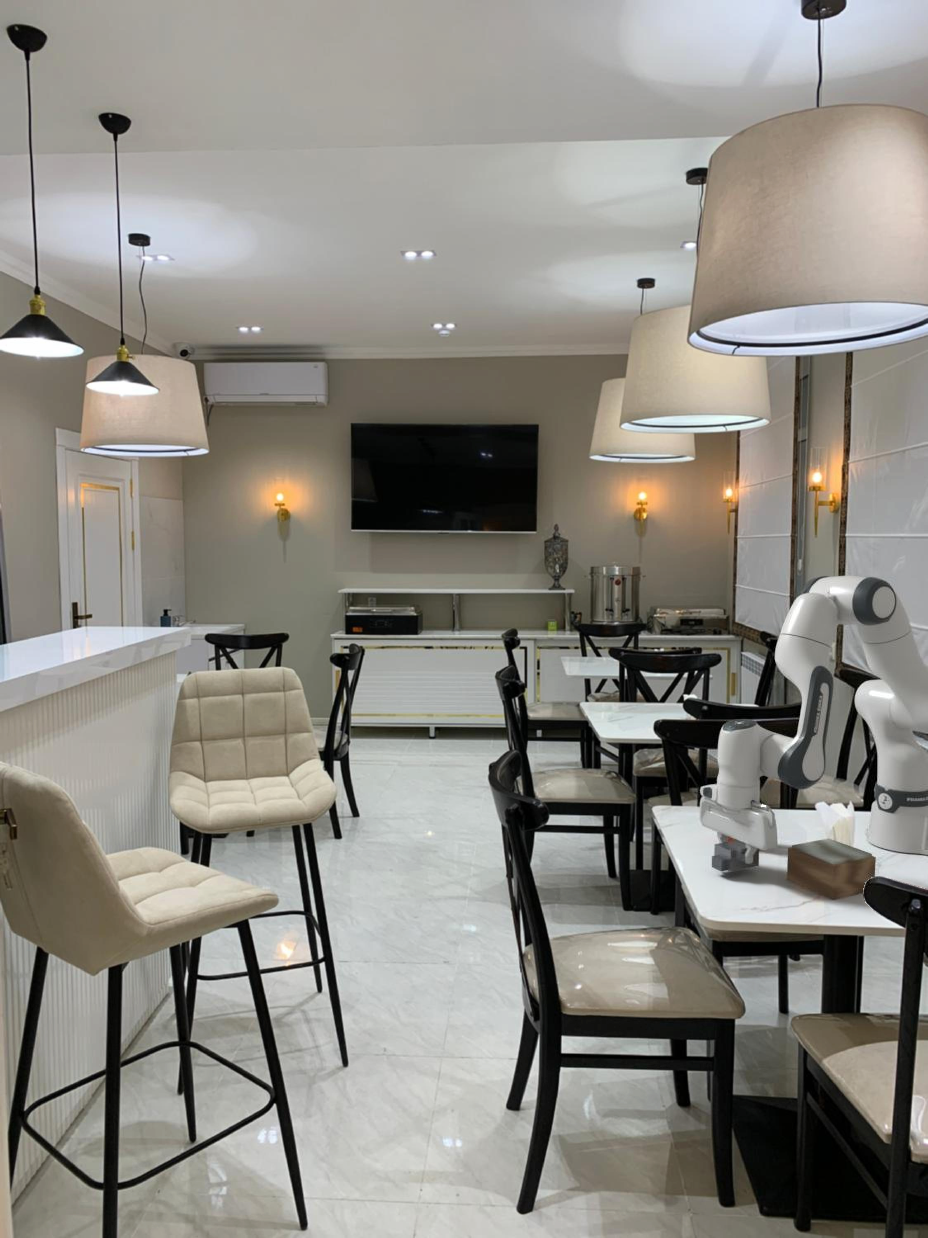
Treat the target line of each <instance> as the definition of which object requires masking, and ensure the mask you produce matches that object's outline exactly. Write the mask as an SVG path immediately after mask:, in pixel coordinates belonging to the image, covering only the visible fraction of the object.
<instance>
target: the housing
mask: <svg viewBox="0 0 928 1238" xmlns="http://www.w3.org/2000/svg"><path fill="white" fill-rule="evenodd" d="M747 849H748V848H746V843H744V842H741V841H739V840H734V841H729V842H724V843H720V842H719V843H715V844H714V851H713V852H714V853H713V854H714V855H712V856H711V868H713V869H715V870H717V871H719V872H726V871H728V872H730V873H732V872H737V871H741V870H746V869H750V868H751V869H752V868H756V867H760V849H757V850H756V852H755V853H754V855H753V862H752V863H750V864H747V863H745V862H743V861H742V854H745V853H746V851H747Z"/></svg>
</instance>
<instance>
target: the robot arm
mask: <svg viewBox="0 0 928 1238" xmlns="http://www.w3.org/2000/svg"><path fill="white" fill-rule="evenodd" d="M839 625H842V626H844V625H845V626H847V625H854V626H855V625H856V627H857V628H856V629H857V632H858V637H859V640H860V642H861V646H862V650H863V653H864V657H865V659H866V663H867V666H868V668H869V670H870V671H871V672H872V673H873V674H874V675H875V676H877V677H878V678H880V679H870V680H866V681H864V682H863V683H861V684H860V685H859V687H857V690H856V692H855V695H854V705H855V709H856V712H857V713H858V714H859V715H860V717H862V719H863V720H864V721H865V722H866V724H867V725H868V727H869V730H870V732H871V735H872V737H873V739H874V743H875V747H876V753H877V754H876V755H877V775H876V777H877V781H876V782H875V785H874V789H873V791H874V794H873V795H874V799H875V800H874V801H873V802H872V804H871V810H870V817H869V823H868V828H866V829H865V835H866V836H867V837H866V840H867V842H868V843H870V844H872V845H874V846H876V847H878V848H881V849H886V850H889V851H893V852H898V853H906V854H917V855H919V854H921V855H924V856H925V855H926V856H928V752H927V751H926V750H925V748H924V747H922V746H921V745H920V744H919V742H918V741H917V739H916V737H915V736H914V732H916V733H923V734H926V735H927V734H928V667H927V665H926V663H925V662H924V661H923V659H922V657H921V654H920V652H919V649H918V646H917V643H916V639H915V637H914V633H913V630H912V626H911V623H910V620H909V617H908V614H907V612H906V609H905V607H904V605H903V603H902V601H901V599H900V597H899V596H898V594H897V593H896V592H895V590H894V587H892V585H891V584H890V583H889V582H887V580H884V579H881V578H878V577H873V576H869V577H868V576H867V577H865V576H860V575H859V576H858V575H851V574H850V575H838V576H837V575H836V576H828V575H823V576H817V577H814V578H811V579H810V580H808V581H807V582H806V584H804V586H803V587H802V590H801V591H800V595H799V596H797V597H796V599H794V601H793V603H792V604H791V607H790V608H789V611H788V613H787V614H786V616H785V620H784V622H783V624H782V627H781V629H780V630H781V631H780V633H779V636H778V638H777V642H776V646H775V651H774V660H775V664H776V667H777V668H778V670H779V671H780V673H782V675H783V676H784V677H785V678H786V679H788V680H789V681H790V682H791V683H792V684H793V685H795V686H796V688H797V689H798V690H799V692H800V695H801V700H802V701H801V708H800V713H799V714H800V715H799V721H798V726H797V732H796V735H795V736H794V737H789V736H787V735H783V734H780V733H776V732H773V731H770V730H768V729H766V728H763V727H762V726H761V725H759V724H758V723H757V721H755V720H753V719H748V718H747V719H746V718H741V719H740V718H739V719H738V718H737V719H733V720H729V721H726V723H724V724H723V725H722V727H721V729H720V731H719V735H718V741H717V742H718V743H717V765H718V775H717V778H716V783H714V784H707V785H703V786H700V790H699V791H700V795H701V798H700V801H699V821H700V823H701V825H702V827H704V828H708V829H709V830H712V831H714V832H716V835H717V836H716V837H717V839H718V842H719V843H724V842H728V838H727V837H728V836H729V837H731V838H734V839H736V840H739V841H741V842H744V843H746V848H748V849H747V851H746V853H745V854H742V861H743V862H745V863H747V864H750V863H752V862H753V855H754V853H755V852H756V850H757V849H759V850H761V851H771V850H774V849H775V848H776V847H777V846H778V827H777V822H776V820H777V819H776V815H775V812H774V811H773V809H771V806H769V805H768V804H765V803H764V804H763V803H762V802H760V795H761V794H760V792H761V791H760V790H761V789H760V788H761V780H760V778H761V777H763V776H765V777H767V778H768V779H773V780H775V781H779V782H782V783H783V784H786V785H788V786H789V787H791V788H794V789H796V790H807V789H809V788H811V787H812V786H815V785H816V784H817V783H819V782H820V781H821V779H822V777H823V776H824V774H825V770H826V764H827V762H826V761H827V760H826V744H827V736H828V730H829V723H830V717H831V711H832V710H831V709H832V703H833V697H834V696H833V695H834V677H833V674H832V673H831V671H830V662H829V661H830V655H831V651H832V647H833V645H834V644H833V643H834V640H835V634H836V629H837V627H838V626H839ZM759 802H760V803H759Z"/></svg>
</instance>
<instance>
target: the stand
mask: <svg viewBox="0 0 928 1238" xmlns="http://www.w3.org/2000/svg"><path fill="white" fill-rule="evenodd" d="M876 858H877V857H876V856H874V855H873V853H871V852H868V851H865V850H863V849H859V848H857V847H854V846H851V845H848V844H846V843H843V842H840V841H836V840H834V839H832V838H824V839H819V840H818V839H817V840H813V841H808V842H802V843H797V844H796V843H795V844H792V845H791V846H789V847H787V860H786V861H787V866H786V867H787V868H786V881H789V882H791V883H793V884H795V885H797V886H800V887H803V888H804V889H807V890H810V891H811V892H814V893H816V894H818V895H821V896H823V897H825V898H828V899H830V900H833V901H834V900H837V899H842V898H846V897H851V896H855V895H856V896H857V895H860V894H864V893H863V888H864V885H865V882H866V881H867V880H868V879H870V878H871V877H875V878H876V862H877V861H876V860H877V859H876Z"/></svg>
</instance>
